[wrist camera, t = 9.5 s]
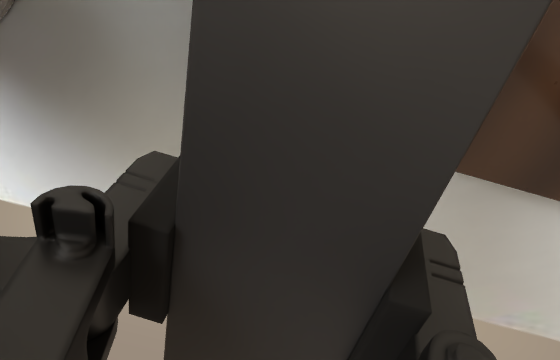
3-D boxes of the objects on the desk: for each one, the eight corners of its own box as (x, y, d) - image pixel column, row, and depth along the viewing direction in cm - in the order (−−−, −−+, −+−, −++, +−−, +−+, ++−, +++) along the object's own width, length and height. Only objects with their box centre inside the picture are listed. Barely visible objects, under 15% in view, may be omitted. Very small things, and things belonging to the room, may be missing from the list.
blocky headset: (241, 196, 24) (126, 440, 13) (315, -179, 14) (105, -488, 3) (338, 225, 24) (305, 499, 13) (482, -136, 14) (886, -306, 3)
